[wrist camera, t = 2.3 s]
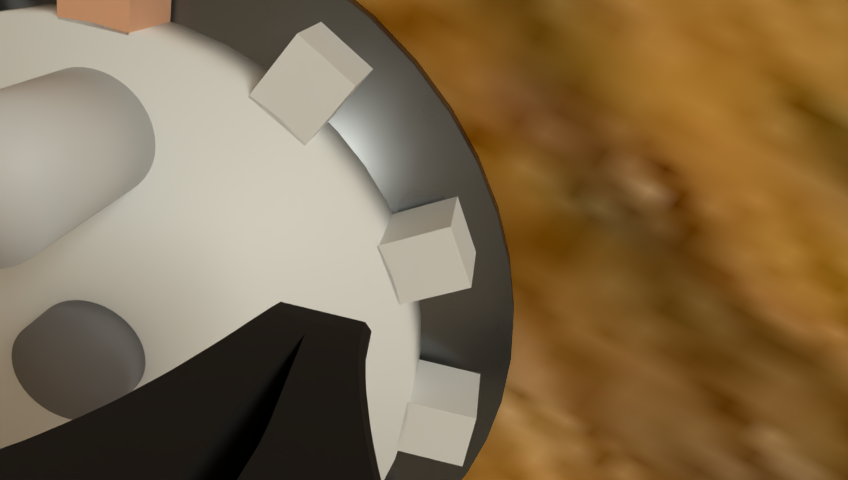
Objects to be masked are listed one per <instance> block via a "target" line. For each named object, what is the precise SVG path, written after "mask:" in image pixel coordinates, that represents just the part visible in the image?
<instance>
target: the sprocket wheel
mask: <svg viewBox="0 0 848 480" xmlns="http://www.w3.org/2000/svg"><path fill="white" fill-rule="evenodd" d="M170 16H171V0H57V4H46V5H39V6H31V7H24V8H16V9H9V10H3V11H0V449H1V448H4V447H6V446H9V445H12V444H15V443H18V442H21V441H23V440H26V439H28V438H31V437H33V436H36V435H38V434H41V433H43V432H45V431H48V430H50V429H52V428H55V427H57V426H59V425H62V424H64V423H66V422H69V421H71V420H73V419H76V418H78V417H81V416H83V415H85V414H87V413H89V412H91V411H94V410H96V409H98V408H100V407H102V406H104V405H106V404H108V403H110V402H113V401H115V400H117V399H119V398H120V397H122V396H124V395H126V394H128V393H130V392H132V391H133V390H135V389H137V388H139V387H141V386H143V385H145V384H146V383H148V382H150V381H152V380H154V379H156V378H158V377H159V376H161V375H163V374H165V373H167V372H169V371H170V370H172V369H174V368H175V367H177V366H179V365H181V364H182V363H184V362H185V361H187V360H189V359H190V358H192V357H194V356H195V355H197V354H199V353H200V352H202V351H204V350H205V349H207V348H208V347H210V346H212V345H213V344H215V343H217V342H218V341H220V340H221V339H223V338H224V337H226V336H227V335H229V334H231V333H232V332H234V331H235V330H237V329H238V328H240V327H241V326H243V325H244V324H246V323H247V322H249V321H250V320H252V319H253V318H255V317H257V316H258V315H260V314H261V313H263V312H264V311H266V310H267V309H269V308H271V307H272V306H274V305H276V304H277V303H279V302H284V303H288V304H293V305H297V306H301V307H305V308H309V309H313V310H317V311H322V312H326V313H330V314H334V315H338V316H342V317H347V318H351V319H355V320H359V321H363V322H366V324H367V325H368V327H369V328H370V330H371V331H372V332H371V337H370V342H369V347H368V352H367V357H366V392H367V401H368V410H369V419H370V426H371V433H372V439H373V444H374V449H375V454H376V459H377V464H378V469H379V473H380V477H381V480H384V479H385V477H386V475H387V473H388V471H389V470H390V468H391V466H392V464H393V462H394V460H395V457H396V454H397V451H401V452H405V453H409V454H413V455H418V456H422V457H426V458H430V459H434V460H438V461H442V462H446V463H450V464H454V465H458V466H463V463H464V460H465V456H466V453H467V449H468V446H469V442H470V439H471V435H472V432H473V429H474V425H475V422H476V417H477V406H478V394H479V383H480V374H478V373H474V372H470V371H465V370H461V369H457V368H453V367H449V366H445V365H441V364H436V363H432V362H428V361H424V360H420V359H419V357H420V351H421V313H420V306H419V300H422V299H426V298H430V297H434V296H439V295H443V294H447V293H451V292H455V291H460V290H464V289H468V288H471V286H472V278H473V271H474V263H475V256H476V251H475V248H474V245H473V242H472V239H471V236H470V233H469V230H468V227H467V223H466V220H465V217H464V214H463V211H462V208H461V205H460V202H459V199H458V196H457V197H453V198H449V199H446V200H442V201H438V202H434V203H431V204H427V205H423V206H420V207H416V208H412V209H409V210H405V211H401V212H398V213H394V214H392V212H391V209H390V207H389V205H388V203H387V201H386V200H385V198H384V196H383V195H382V193H381V191H380V190H379V188H378V186H377V185H376V183H375V181H374V180H373V178H372V177H371V175H370V173H369V172H368V170H367V168H366V167H365V165H364V164H363V163H362V161H361V160H360V159H359V158H358V156H357V155H356V154H355V153H354V151H353V150H352V149H351V148H350V146H349V145H348V144H347V143H346V141H345V140H344V139H343V138H342V136H341V135H340V134H339V132H338V131H337V130H336V129H335V128H334V127H333V126H332V125H331V124H330V123H329V122H328V121H329V120H330V119H331V118H332V117H333V116H334V114H335V113H336V112H337V111H338V110H339V109H340V107H341V106H342V105H343V104H344V103H345V101H346V100H347V99H348V98H349V97H350V96H351V94H352V93H353V92H354V91H355V90H356V89H357V87H358V86H359V85H360V84H361V83H362V81H363V80H364V79H365V78H366V77H367V76H368V74H369V73H370V72H371V71H372V70H373V68H372V67H370V66H369V65H368V64H367V63H366V62H365V61H364V60H363V59H362V58H361V57H359V56H358V55H357V54H356V53H355V52H354V51H353V50H352V49H351V48H350V47H348V46H347V45H346V44H345V43H344V42H343V41H342V40H341V39H340V38H339V37H337V36H336V35H335V34H334V33H333V32H332V31H331V30H330V29H329V28H328V27H326V26H325V25H324V24H323V23H322V22H320V23H318V24H316V25H314V26H312V27H309V28H307V29H305V30H303V31H301V32H299V33H297V34H296V36H295V37H294V38H293V39H292V41H291V42H290V43H289V45H288V46H287V47H286V48H285V50H284V51H283V52H282V54H281V55H280V56H279V57H278V59H277V60H276V61H275V63H274V64H273V65H272V66H271V68H270V69H269V70H267V69H266V68H264V67H262V66H261V65H259V64H257V63H256V62H254V61H252V60H251V59H249V58H247V57H246V56H244V55H242V54H241V53H239V52H237V51H236V50H234V49H232V48H231V47H229V46H227V45H226V44H223V43H221V42H219V41H217V40H214V39H212V38H210V37H208V36H205V35H203V34H201V33H199V32H197V31H194V30H192V29H190V28H188V27H185V26H183V25H180V24H177V23H173V22H170Z"/></svg>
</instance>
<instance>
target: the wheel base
mask: <svg viewBox="0 0 848 480" xmlns="http://www.w3.org/2000/svg"><path fill="white" fill-rule="evenodd" d="M46 4H57V0H0V11H3V10H9V9H16V8H24V7H31V6H39V5H46ZM170 22H173V23H177V24H180V25H183V26H185V27H188V28H190V29H192V30H194V31H197V32H199V33H201V34H203V35H205V36H208V37H210V38H212V39H214V40H217V41H219V42H221V43H223V44H226V45H227V46H229V47H231V48H232V49H234V50H236V51H237V52H239V53H241V54H242V55H244V56H246V57H247V58H249V59H251V60H252V61H254V62H256V63H257V64H259V65H261V66H262V67H264V68H266V69H267V70H269V69H270V68H271V66H272V65H273V64H274V63H275V61H276V60H277V59H278V57H279V56H280V55H281V54H282V52H283V51H284V50H285V48H286V47H287V46H288V45H289V43H290V42H291V41H292V39H293V38H294V37H295V36H296V34H297V33H299V32H301V31H303V30H305V29H307V28H309V27H312V26H314V25H316V24H318V23H320V22H322V23H323V24H324V25H325V26H326V27H328V28H329V29H330V30H331V31H332V32H333V33H334V34H335V35H336V36H337V37H339V38H340V39H341V40H342V41H343V42H344V43H345V44H346V45H347V46H348V47H350V48H351V49H352V50H353V51H354V52H355V53H356V54H357V55H358V56H359V57H361V58H362V59H363V60H364V61H365V62H366V63H367V64H368V65H369V66H370V67H372V68H373V70H372V71H371V72H370V73H369V74H368V76H367V77H366V78H365V79H364V80H363V81H362V83H361V84H360V85H359V86H358V87H357V89H356V90H355V91H354V92H353V93H352V94H351V96H350V97H349V98H348V99H347V100H346V101H345V103H344V104H343V105H342V106H341V107H340V109H339V110H338V111H337V112H336V113H335V114H334V116H333V117H332V118H331V119H330V120H329V121H328V122H329V123H330V124H331V125H332V126H333V127H334V128H335V129H336V130H337V131H338V132H339V134H340V135H341V136H342V138H343V139H344V140H345V141H346V143H347V144H348V145H349V146H350V148H351V149H352V150H353V151H354V153H355V154H356V155H357V156H358V158H359V159H360V160H361V161H362V163H363V164H364V165H365V167H366V168H367V170H368V172H369V173H370V175H371V177H372V178H373V180H374V181H375V183H376V185H377V186H378V188H379V190H380V191H381V193H382V195H383V196H384V198H385V200H386V201H387V203H388V205H389V207H390V209H391V212H392V214H394V213H398V212H401V211H405V210H409V209H412V208H416V207H420V206H423V205H427V204H431V203H434V202H438V201H442V200H446V199H449V198H453V197H457V196H458V199H459V202H460V205H461V208H462V211H463V214H464V217H465V220H466V223H467V227H468V230H469V233H470V236H471V239H472V242H473V245H474V248H475V251H476V256H475V263H474V271H473V278H472V286H471V288H468V289H464V290H460V291H455V292H451V293H447V294H443V295H439V296H434V297H430V298H426V299H422V300H419V306H420V313H421V351H420V357H419V359H420V360H424V361H428V362H432V363H436V364H441V365H445V366H449V367H453V368H457V369H461V370H465V371H470V372H474V373H478V374H480V383H479V394H478V406H477V417H476V422H475V425H474V429H473V432H472V435H471V439H470V442H469V446H468V449H467V453H466V456H465V460H464V463H463V466H458V465H454V464H450V463H446V462H442V461H438V460H434V459H430V458H426V457H422V456H418V455H413V454H409V453H405V452H401V451H397V454H396V457H395V460H394V462H393V464H392V466H391V468H390V470H389V471H388V473H387V475H386V477H385V479H384V480H461V479H462V478H463V477H464V476H465V475H466V473H467V472H468V470H469V468H470V467H471V465H472V463H473V461H474V460H475V458H476V456H477V455H478V453H479V451H480V450H481V448H482V446H483V445H484V443H485V441H486V439H487V437H488V434H489V432H490V429H491V427H492V424H493V421H494V419H495V416H496V414H497V411H498V409H499V406H500V404H501V401H502V396H503V392H504V387H505V383H506V378H507V374H508V369H509V365H510V360H511V346H512V330H513V313H514V301H513V290H512V278H511V267H510V256H509V252H508V247H507V243H506V239H505V235H504V230H503V226H502V222H501V218H500V213H499V209H498V206H497V203H496V201H495V198H494V195H493V193H492V190H491V188H490V185H489V182H488V180H487V177H486V175H485V172H484V170H483V167H482V164H481V162H480V159H479V157H478V155H477V153H476V151H475V150H474V148H473V146H472V144H471V142H470V140H469V139H468V137H467V135H466V133H465V131H464V130H463V128H462V126H461V124H460V122H459V121H458V119H457V117H456V115H455V113H454V111H453V110H452V108H451V106H450V105H449V104H448V102H447V101H446V100H445V98H444V97H443V96H442V94H441V93H440V91H439V90H438V89H437V87H436V86H435V85H434V83H433V82H432V81H431V79H430V78H429V76H428V75H427V74H426V72H425V71H424V70H423V68H422V67H421V66H420V64H419V63H418V61H417V60H416V59H415V58H414V57H413V56H412V55H411V54H410V53H409V52H408V51H407V50H406V49H405V48H404V46H403V45H402V44H401V43H400V42H399V41H398V40H397V39H396V38H395V37H394V36H393V35H392V34H391V33H390V32H389V31H388V30H387V29H386V28H385V26H384V25H383V24H382V23H381V22H380V21H379V20H378V19H377V18H376V17H375V16H374V15H373V14H371V13H370V12H369V11H368V10H367V9H365V8H364V7H363V6H362V5H360V4H359V3H358V2H357V1H356V0H171V16H170Z"/></svg>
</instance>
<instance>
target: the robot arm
mask: <svg viewBox="0 0 848 480" xmlns="http://www.w3.org/2000/svg"><path fill="white" fill-rule="evenodd" d="M371 332H372V331H371V330H370V328H369V327H368V325H367V324H366V322H363V321H359V320H355V319H351V318H347V317H342V316H338V315H334V314H330V313H326V312H322V311H317V310H313V309H309V308H305V307H301V306H297V305H293V304H288V303H284V302H279V303H277V304H276V305H274V306H272V307H271V308H269V309H267V310H266V311H264V312H263V313H261V314H260V315H258V316H257V317H255V318H253V319H252V320H250V321H249V322H247V323H246V324H244V325H243V326H241V327H240V328H238V329H237V330H235V331H234V332H232V333H231V334H229V335H227V336H226V337H224V338H223V339H221V340H220V341H218V342H217V343H215V344H213V345H212V346H210V347H208V348H207V349H205V350H204V351H202V352H200V353H199V354H197V355H195V356H194V357H192V358H190V359H189V360H187V361H185V362H184V363H182V364H181V365H179V366H177V367H175V368H174V369H172V370H170V371H169V372H167V373H165V374H163V375H161V376H159V377H158V378H156V379H154V380H152V381H150V382H148V383H146V384H145V385H143V386H141V387H139V388H137V389H135V390H133V391H132V392H130V393H128V394H126V395H124V396H122V397H120V398H119V399H117V400H115V401H113V402H110V403H108V404H106V405H104V406H102V407H100V408H98V409H96V410H94V411H91V412H89V413H87V414H85V415H83V416H81V417H78V418H76V419H73V420H71V421H69V422H66V423H64V424H62V425H59V426H57V427H55V428H52V429H50V430H48V431H45V432H43V433H41V434H38V435H36V436H33V437H31V438H28V439H26V440H23V441H21V442H18V443H15V444H12V445H9V446H6V447H4V448H1V449H0V480H381V477H380V473H379V469H378V464H377V459H376V454H375V449H374V444H373V439H372V433H371V426H370V419H369V410H368V401H367V392H366V357H367V352H368V347H369V342H370V337H371Z"/></svg>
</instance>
